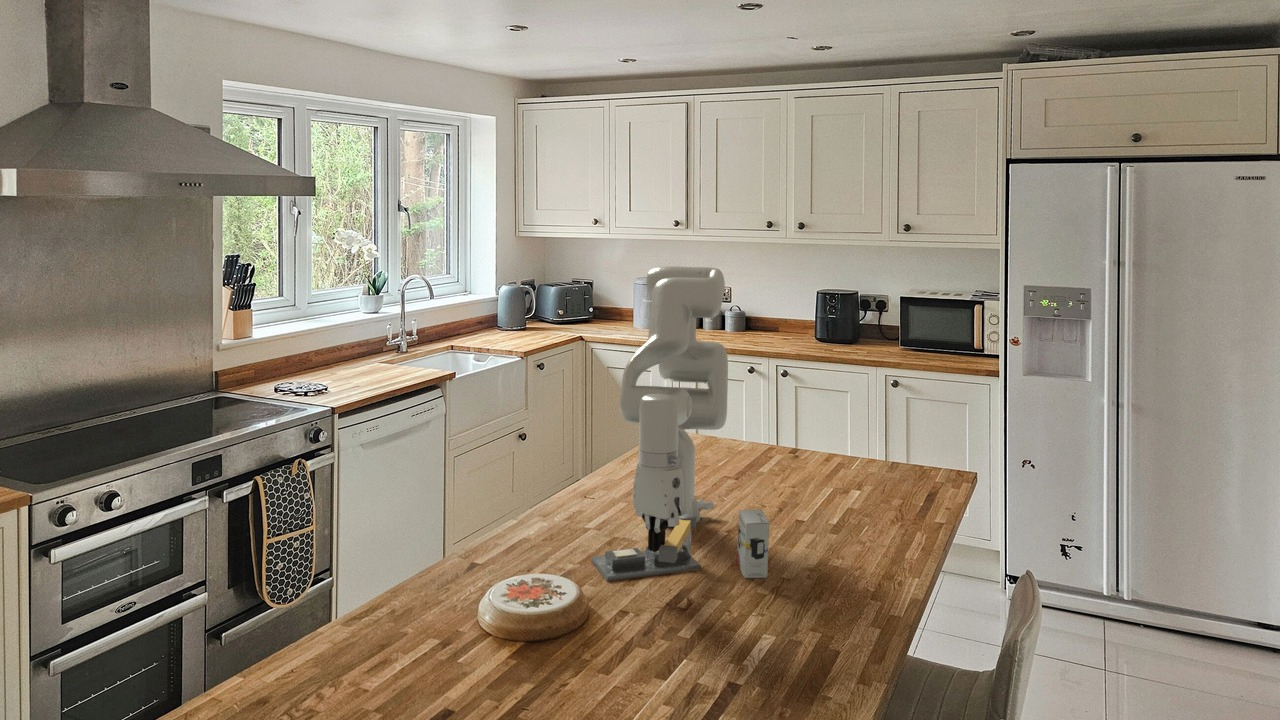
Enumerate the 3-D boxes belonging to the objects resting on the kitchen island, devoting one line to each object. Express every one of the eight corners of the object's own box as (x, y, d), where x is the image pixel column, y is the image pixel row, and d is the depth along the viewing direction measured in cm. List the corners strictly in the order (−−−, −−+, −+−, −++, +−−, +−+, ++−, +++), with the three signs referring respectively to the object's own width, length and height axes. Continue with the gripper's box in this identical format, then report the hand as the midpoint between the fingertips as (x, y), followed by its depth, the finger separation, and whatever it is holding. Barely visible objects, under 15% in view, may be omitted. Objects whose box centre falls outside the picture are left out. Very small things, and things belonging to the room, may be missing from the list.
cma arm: (678, 523, 206) (679, 512, 205) (697, 524, 205) (697, 514, 204) (656, 561, 184) (656, 549, 184) (676, 563, 184) (677, 551, 183)
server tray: (680, 550, 210) (681, 519, 209) (700, 569, 200) (701, 536, 198) (591, 561, 203) (591, 529, 202) (607, 581, 193) (607, 547, 192)
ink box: (736, 562, 204) (737, 508, 202) (759, 562, 204) (761, 508, 202) (744, 578, 195) (745, 522, 193) (767, 578, 196) (770, 522, 194)
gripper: (700, 462, 185) (698, 554, 188) (643, 448, 195) (642, 535, 198) (673, 469, 179) (671, 564, 182) (617, 454, 190) (616, 544, 193)
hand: (656, 549), depth 190 cm, fingers closed
